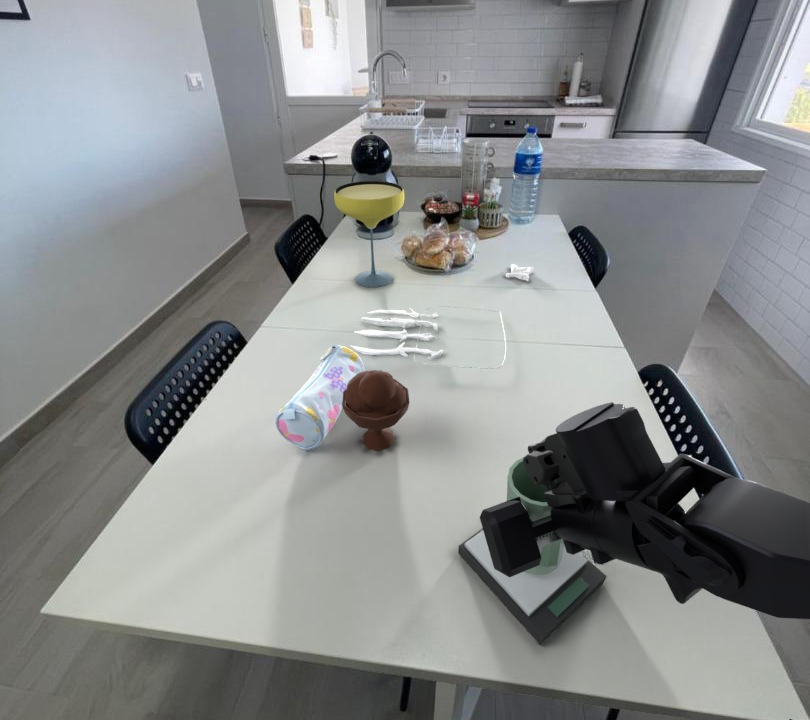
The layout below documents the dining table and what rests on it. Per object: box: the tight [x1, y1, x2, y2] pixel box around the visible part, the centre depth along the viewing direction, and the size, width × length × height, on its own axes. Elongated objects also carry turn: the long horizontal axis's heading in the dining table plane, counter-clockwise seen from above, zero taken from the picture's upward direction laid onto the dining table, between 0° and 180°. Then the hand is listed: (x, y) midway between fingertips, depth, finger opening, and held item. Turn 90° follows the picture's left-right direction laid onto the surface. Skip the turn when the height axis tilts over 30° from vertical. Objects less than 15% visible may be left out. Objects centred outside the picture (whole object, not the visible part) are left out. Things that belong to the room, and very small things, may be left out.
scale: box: [457, 528, 608, 646], centre depth 57 cm, size 14×12×2 cm
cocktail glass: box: [333, 180, 405, 288], centre depth 122 cm, size 18×18×25 cm
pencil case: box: [275, 344, 365, 451], centre depth 80 cm, size 21×9×10 cm, turn 164°
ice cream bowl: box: [342, 369, 410, 452], centre depth 73 cm, size 11×11×15 cm
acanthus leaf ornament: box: [505, 263, 534, 282], centre depth 130 cm, size 8×7×2 cm
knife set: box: [350, 305, 507, 370], centre depth 104 cm, size 26×35×1 cm
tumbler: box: [506, 456, 564, 575], centre depth 53 cm, size 7×7×14 cm
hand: (529, 505), depth 54 cm, fingers closed on tumbler, 7 cm apart
